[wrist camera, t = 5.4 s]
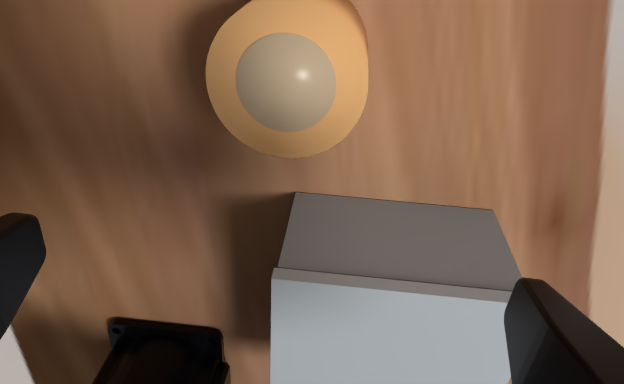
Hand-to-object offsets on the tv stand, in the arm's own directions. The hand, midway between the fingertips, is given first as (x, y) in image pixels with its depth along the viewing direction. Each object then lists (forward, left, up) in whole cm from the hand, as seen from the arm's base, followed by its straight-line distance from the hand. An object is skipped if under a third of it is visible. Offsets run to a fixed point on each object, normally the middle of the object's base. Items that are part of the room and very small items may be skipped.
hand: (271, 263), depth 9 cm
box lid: (+4, -10, -7) cm, 13 cm away
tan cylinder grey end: (-1, +1, -12) cm, 12 cm away
